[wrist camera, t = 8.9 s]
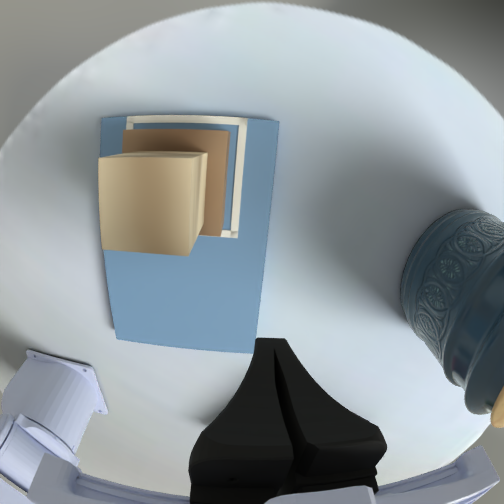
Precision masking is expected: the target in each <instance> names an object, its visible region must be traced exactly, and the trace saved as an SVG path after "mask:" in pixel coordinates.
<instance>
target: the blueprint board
mask: <svg viewBox="0 0 504 504" xmlns="http://www.w3.org/2000/svg"><path fill="white" fill-rule="evenodd" d="M131 129H198V130H221V131H229V132H231V133H230V145H229V157H228V170H227V184H226V198H225V213H224V224H223V228H222V233H221V237H217V236H202V235H198V237H197V239H196V241H195V243H194V246H193V248H192V250H191V252H190V254H189V256H176V255H164V254H151V253H139V252H127V251H115V250H104V258H105V268H106V276H107V284H108V291H109V298H110V305H111V311H112V317H113V323H114V328H115V333H116V338H117V339H119V340H125V341H131V342H138V343H145V344H152V345H160V346H168V347H177V348H186V349H196V350H207V351H220V352H234V353H251V354H254V345H255V339H256V332H257V324H258V315H259V307H260V298H261V290H262V281H263V272H264V263H265V254H266V245H267V236H268V227H269V218H270V209H271V199H272V190H273V180H274V170H275V160H276V150H277V140H278V130H279V121H272V120H262V119H251V118H240V117H224V116H201V115H145V116H124V117H109V118H102V122H101V143H100V158H101V157H106V156H112V155H117V154H122V142H123V130H131Z"/></svg>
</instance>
